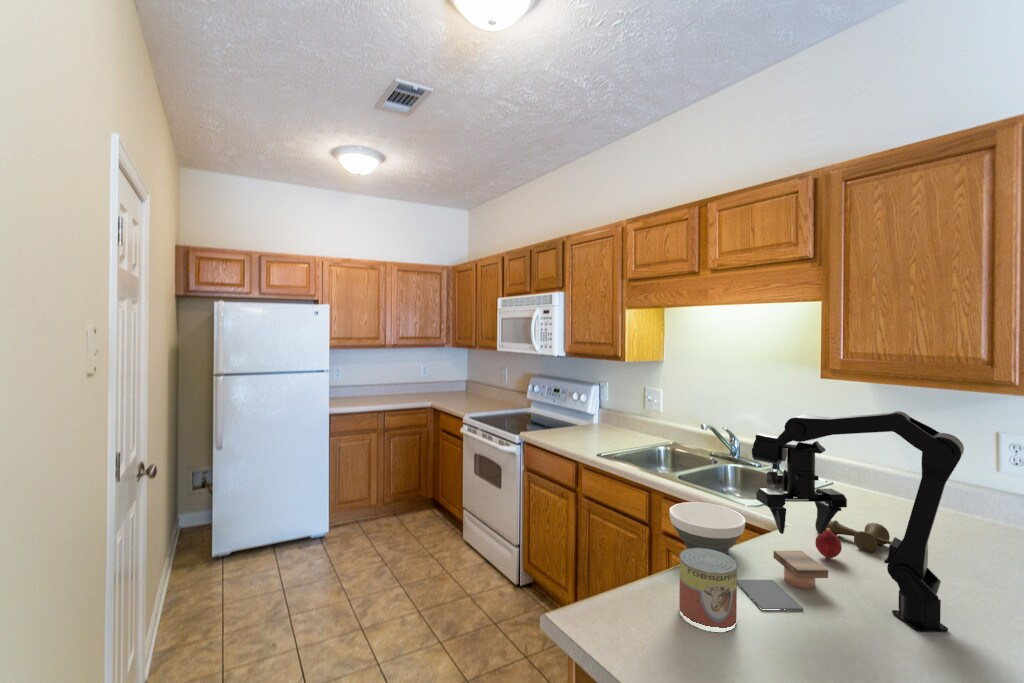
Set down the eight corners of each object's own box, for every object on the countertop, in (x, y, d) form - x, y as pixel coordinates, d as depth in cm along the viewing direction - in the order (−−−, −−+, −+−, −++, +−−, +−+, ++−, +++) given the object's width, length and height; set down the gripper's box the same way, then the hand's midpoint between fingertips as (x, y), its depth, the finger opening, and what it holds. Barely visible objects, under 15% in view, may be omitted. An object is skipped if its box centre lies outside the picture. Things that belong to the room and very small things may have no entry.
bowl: (707, 529, 144) (707, 498, 144) (762, 557, 126) (762, 522, 126) (654, 539, 137) (654, 506, 137) (704, 570, 119) (704, 533, 119)
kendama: (824, 529, 147) (905, 551, 130) (810, 537, 141) (893, 561, 125) (824, 509, 147) (905, 529, 130) (810, 517, 141) (892, 539, 125)
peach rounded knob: (821, 589, 111) (821, 574, 111) (794, 588, 111) (794, 574, 111) (804, 575, 117) (804, 561, 117) (778, 575, 117) (778, 561, 117)
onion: (845, 564, 122) (846, 534, 122) (820, 562, 124) (821, 532, 123) (835, 554, 128) (835, 525, 128) (811, 552, 129) (811, 523, 129)
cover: (828, 578, 109) (828, 570, 109) (797, 578, 109) (797, 570, 109) (801, 557, 119) (801, 550, 119) (773, 557, 119) (773, 550, 119)
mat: (803, 610, 102) (803, 608, 102) (761, 610, 102) (761, 608, 102) (772, 581, 114) (772, 579, 114) (735, 581, 114) (735, 579, 114)
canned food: (691, 633, 94) (691, 573, 94) (671, 601, 105) (671, 547, 105) (747, 632, 94) (748, 572, 94) (721, 601, 105) (721, 547, 105)
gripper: (818, 459, 122) (817, 520, 122) (745, 459, 122) (744, 520, 122) (849, 472, 110) (848, 538, 111) (768, 472, 110) (768, 538, 111)
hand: (800, 533), depth 114 cm, fingers open, 9 cm apart
